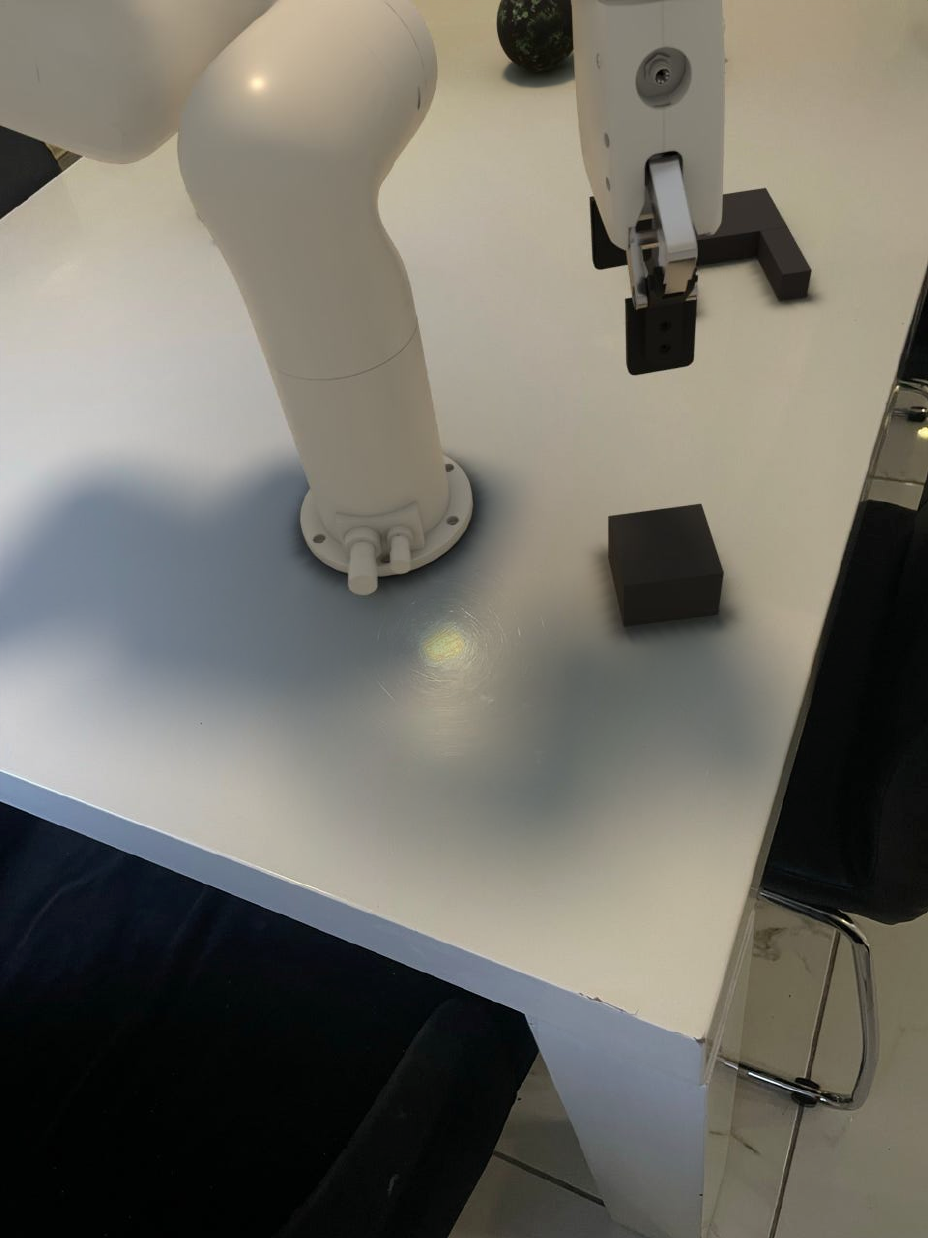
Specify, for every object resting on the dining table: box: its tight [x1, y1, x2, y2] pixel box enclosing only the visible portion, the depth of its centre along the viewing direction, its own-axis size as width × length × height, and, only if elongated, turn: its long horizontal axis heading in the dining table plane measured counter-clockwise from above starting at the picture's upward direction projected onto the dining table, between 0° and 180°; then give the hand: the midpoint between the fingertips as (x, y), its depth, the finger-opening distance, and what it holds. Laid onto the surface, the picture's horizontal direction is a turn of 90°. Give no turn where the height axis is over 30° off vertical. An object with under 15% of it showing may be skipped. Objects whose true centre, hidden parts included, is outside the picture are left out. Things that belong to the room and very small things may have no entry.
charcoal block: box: [607, 503, 725, 627], centre depth 59 cm, size 6×6×4 cm
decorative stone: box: [496, 0, 574, 73], centre depth 109 cm, size 10×10×10 cm
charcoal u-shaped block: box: [644, 187, 813, 301], centre depth 82 cm, size 14×12×2 cm
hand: (639, 311), depth 49 cm, fingers open, 9 cm apart
